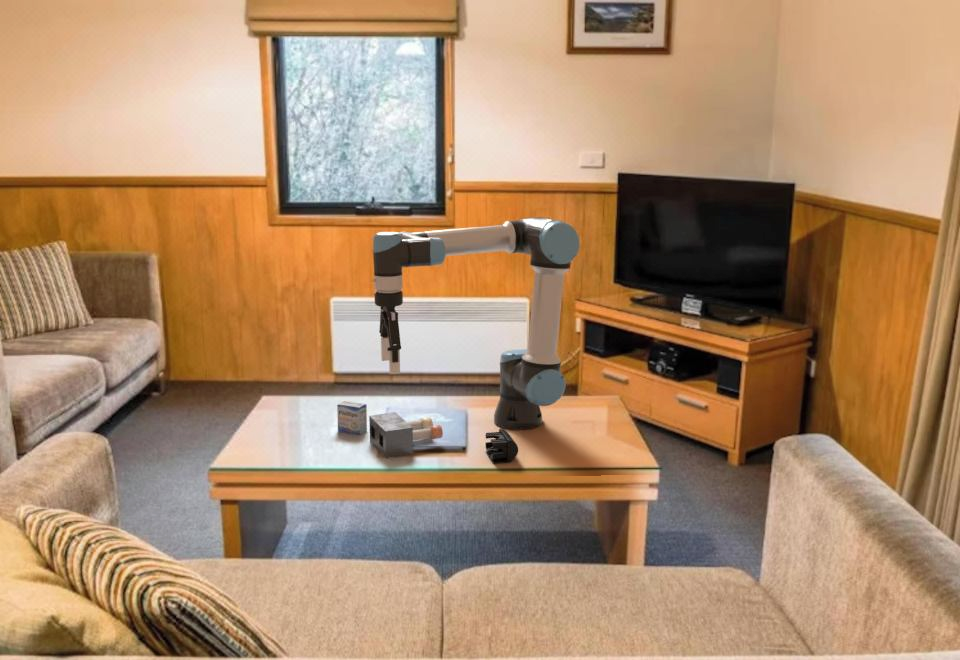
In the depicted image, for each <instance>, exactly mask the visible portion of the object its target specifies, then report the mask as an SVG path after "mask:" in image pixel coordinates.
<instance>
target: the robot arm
mask: <svg viewBox="0 0 960 660" xmlns="http://www.w3.org/2000/svg"><path fill="white" fill-rule="evenodd" d="M372 239H373V240H372V257H373V258H372V259H373V277H374V278H372V279H371V282H372V283H373V284H374V290H375V292H374V293H373V294H374V305H375V306H377V307H380V312H379V314H380V318H379V331H378V332H379V334H380V352H381V353H380V354H381V358H380V359H381V362H384V361H385V362H386V361H387V362H389V365H388V366H389V368H388V369H389V375H396V374H397V375H399V374H401V355H400V354H401V353H400V350H401V349H402V345H401V335H400V326H399V312H397V311H396V307H399V306H401V305H403V302H404V299H403V298H404V297H403V295H404V294H403V291H402V290H403V268H415V267H430V266H431V267H433V266H441V265H443V263H444V262H445V260H446V256H448V257H449V256H458V255H459V256H460V255H468V254H469V255H470V254H480V253H491V252H492V253H493V252H503V251H505V252H506V253H507V254H524V255H528V256H529V255H530V263H529V265H530V267H531V269H532V270H533V271H534V277H533V288H532V299H531V310H530V318H529V319H530V321H529V332H528V342H527V344H528V346H527V349H511V350H505V351H504V352H502V353H501V354H500V361H499V382H500V383H499V399H498V402H497V405H496V408H495V410H494V411H495V412H494V413H493V414H494V415H493V423H494V424H495V425H497V426H498V427H501V428H503V429H508V430H530V429H534V428H537V427H540V426H541V425H542V424H543V414H542V410H541V407H547V406H549V407H550V406H551V405H554V404H555V403H556V402H557V401H558V400H560V399H561V398H562V397H563V395H564V394H565V391H566V386H567V385H566V384H567V383H566V378H565V376H564V375H563V373H562V372H561V368H562V367H561V366H562V359H561V358H560V356H559V355H558V343H559V342H558V341H559V335H560V334H559V333H560V332H559V331H560V322H561V321H560V320H561V311H562V302H563V294H564V293H563V291H564V290H563V289H564V283H565V274H566V273H567V272H568V271H570V270H571V263H572V261H573V260H574V258H575V257H577V255H578V254H579V250H580V246H581V245H580V244H581V243H580V237H579V234H578V232H577V231H576V229H575V228H574V227H573V226H572V225H571V224H569V223H567V222H566V221H565V222H564V221H563V220H561V219H560V220H559V219H553V218H552V219H551V218H546V217H542V216H535V217H529V218H528V217H527V218H523V219H515V220H506V221H504V222H503V224H499V225H498V224H497V225H488V226H474V227H464V228H463V227H462V228H451V229H439V230H429V231H428V230H427V231H418V232H417V231H415V232H410V231H400V232H396V231H380V232H377V233H375V234H374V235H373V238H372Z"/></svg>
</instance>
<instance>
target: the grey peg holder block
mask: <svg viewBox="0 0 960 660" xmlns="http://www.w3.org/2000/svg"><path fill="white" fill-rule="evenodd" d="M368 417H369V419H368V421H369V442H370V443H371V445H372V446H373V447H375V449H376V450H377V451H378V452H379V453H380V454H381V455H382V456H383V457H384V458H385V459H392V458H397V457H404V456H410V455H414V445H413V444H414V440H413V427H412V426H410V425H409V424H408V423H407V422H408V421H406V420H405V419H404V418H403V417H401V416H400V414H398V413H397V412H393V411H392V412H386V413H381V414H373V415H372V414H371V415H369V416H368Z"/></svg>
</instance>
